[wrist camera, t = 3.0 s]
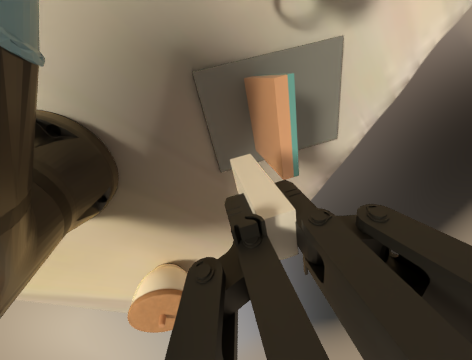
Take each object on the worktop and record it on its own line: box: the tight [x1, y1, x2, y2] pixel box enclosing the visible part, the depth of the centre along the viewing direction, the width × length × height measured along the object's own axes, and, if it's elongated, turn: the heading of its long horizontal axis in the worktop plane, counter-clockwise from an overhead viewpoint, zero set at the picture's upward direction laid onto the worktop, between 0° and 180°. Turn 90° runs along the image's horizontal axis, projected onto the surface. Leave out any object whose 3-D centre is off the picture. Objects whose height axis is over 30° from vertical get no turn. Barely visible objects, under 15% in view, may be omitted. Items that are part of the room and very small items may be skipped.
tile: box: [244, 73, 299, 180], centre depth 23 cm, size 2×10×10 cm, turn 13°
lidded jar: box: [128, 264, 187, 332], centre depth 34 cm, size 11×11×9 cm
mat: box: [192, 36, 343, 172], centre depth 27 cm, size 20×14×1 cm
